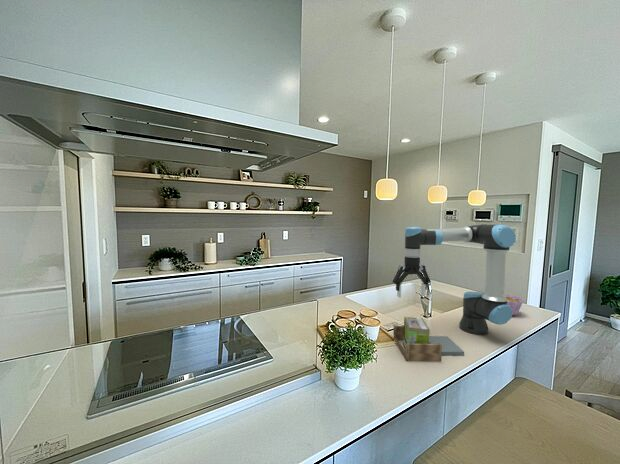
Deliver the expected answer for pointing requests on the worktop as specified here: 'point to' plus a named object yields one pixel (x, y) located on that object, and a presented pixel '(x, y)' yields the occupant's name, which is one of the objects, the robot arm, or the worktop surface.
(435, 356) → the walnut caddy
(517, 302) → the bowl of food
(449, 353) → the slate board
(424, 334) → the tea box
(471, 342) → the worktop surface
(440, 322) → the worktop surface
